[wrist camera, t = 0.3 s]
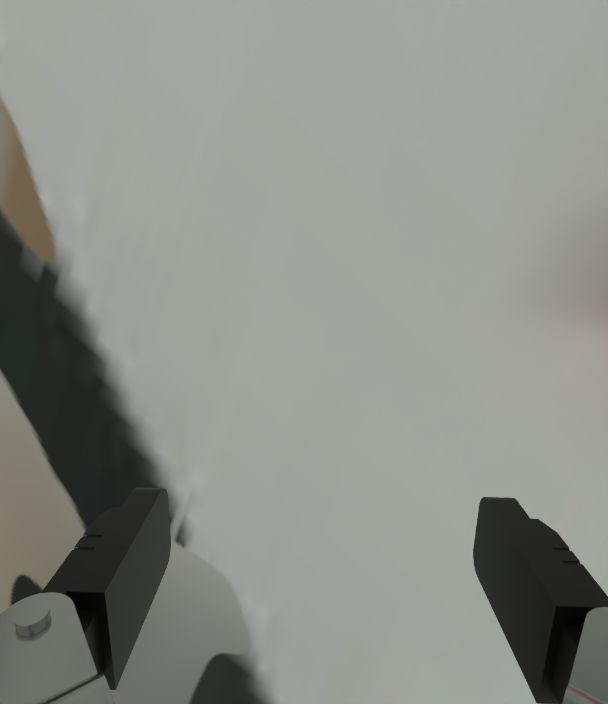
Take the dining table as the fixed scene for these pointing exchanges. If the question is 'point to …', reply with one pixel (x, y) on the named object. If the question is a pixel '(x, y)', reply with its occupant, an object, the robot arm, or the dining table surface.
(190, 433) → the dining table surface
